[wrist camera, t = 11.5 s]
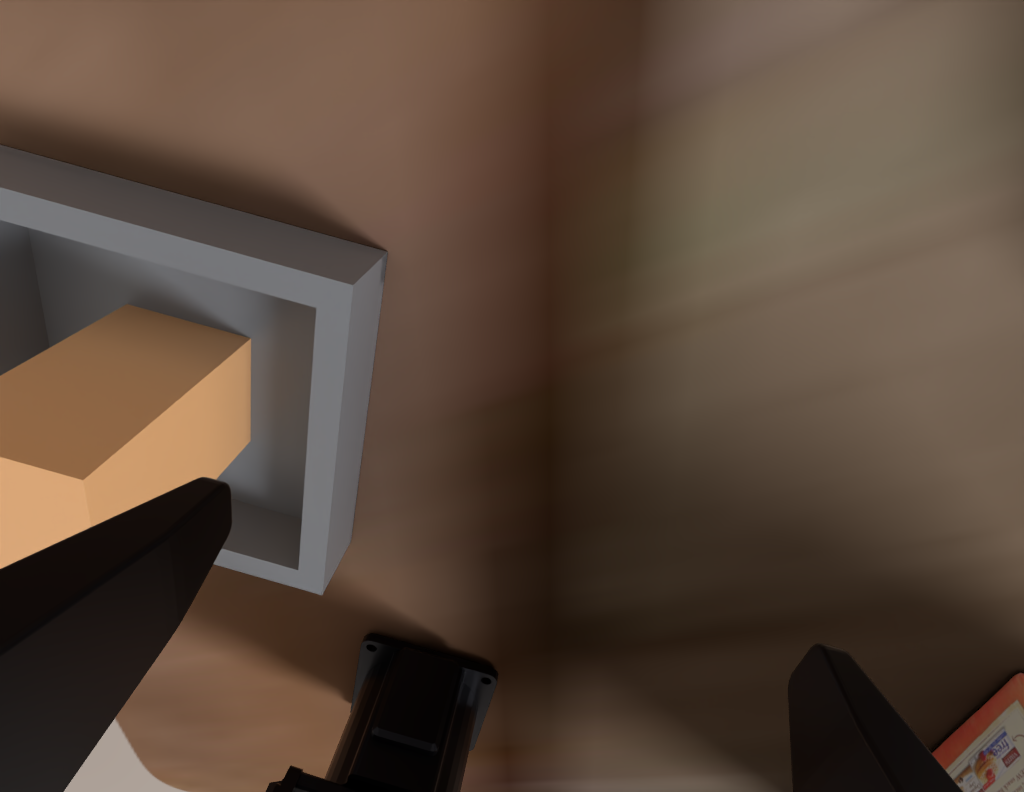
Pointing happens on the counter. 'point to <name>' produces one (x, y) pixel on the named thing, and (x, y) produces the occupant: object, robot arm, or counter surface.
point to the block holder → (221, 305)
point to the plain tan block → (116, 423)
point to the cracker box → (989, 744)
